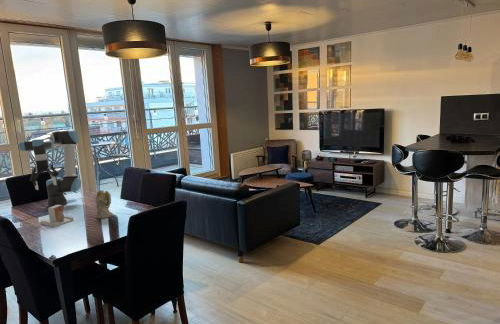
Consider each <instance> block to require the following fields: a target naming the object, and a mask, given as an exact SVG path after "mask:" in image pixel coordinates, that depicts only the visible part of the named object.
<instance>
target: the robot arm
mask: <svg viewBox="0 0 500 324" xmlns="http://www.w3.org/2000/svg"><path fill="white" fill-rule="evenodd" d="M79 141H80V137H79V134H78V132H77V130H75V129H63V130H54V131H53V130H52V131H51V132H48V133H44V134H43V135H41V136H40V137H36V138H33V139H30V140H29V139H28V140H24V141H23V140H22V141H19V144H18V149H19V150H20V151H21V152H33V154H34V159H35V165H36V167H32V168H31V174H30V177H29V181H30V182H32V184H33V186H34V188H35V191H36V190H37V191H39V185H38V177H39V176H40V174H41V173H44V172H45V173H46V172H48V173H49V174H50V175H51V176H52V178H50V179H47V180H46V182H45V183H46V191H47V197H48V198H47V203H46V206H47V208H50V207H52V206H55V205H62V206H64V205H66V204H68V200H67V198H66V196H65V194H64V193H72V192H77V191H80V189H81V187H82V180H81V178H80V177H79V175H77V167H76V150H75V149H76V148H75V147H76V146H77V144H78V143H79ZM59 144H60V145H61V146H62V148H63V162H64V163H63V166H64V167H63V168H64V175H63V176H62V177H61V176H60V177H58V176H59V173H58V171H57V170H56V168H55V167H54V165H53V164H52V163H50V164H49V161H48V156H47V150H50V149H52V148H53V147H54V145H59Z"/></svg>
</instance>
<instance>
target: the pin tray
mask: <svg viewBox="0 0 500 324" xmlns="http://www.w3.org/2000/svg"><path fill="white" fill-rule="evenodd" d="M59 216H60V220H59V221H57V222H50V218H48V219H46V220H43V219H41V220H40V224H41V225H46V226H50V227H53V228H55V227H58V226H62V225H64V224H67V223H70V222H73V221H74V217H73V216H66V215H64V219H63V217H62V212H59Z"/></svg>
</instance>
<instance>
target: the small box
mask: <svg viewBox="0 0 500 324" xmlns="http://www.w3.org/2000/svg"><path fill="white" fill-rule="evenodd" d="M47 210H48V219H50V222H57V221H59V220H60V216H59V212H62V217H63V219H64V216H65V212H64V205H55V206H52V207H47Z"/></svg>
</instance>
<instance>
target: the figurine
mask: <svg viewBox="0 0 500 324" xmlns="http://www.w3.org/2000/svg"><path fill="white" fill-rule="evenodd" d="M95 202H96V209H97V211H96V212H97V213H96V220H104V219H108V218H111V217H113V213H112V212H110V210H109V209H110V207H111V204H112V195H111V193H110V192H109V191H108V190H105V191H104V190H98V191H97V192H96V196H95Z"/></svg>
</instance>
